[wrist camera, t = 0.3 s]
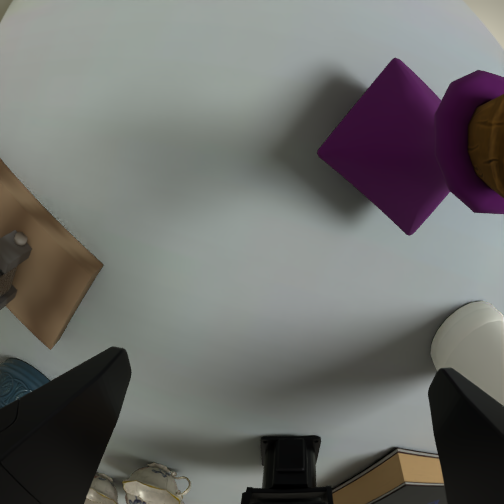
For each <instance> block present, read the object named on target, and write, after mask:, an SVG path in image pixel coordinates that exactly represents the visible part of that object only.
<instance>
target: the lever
mask: <svg viewBox="0 0 504 504" xmlns="http://www.w3.org/2000/svg"><path fill="white" fill-rule="evenodd" d="M16 269H17V266H16V267H15V268H13V269H12V270H11V271H9V272H8V273H6V274H4V273H3V271H2V270H1V269H0V297H2V296H3V295H4V294H5V293H7V292H8V291H9V290H10V288H11V285H12V282H13V278H14V275H15V272H16Z"/></svg>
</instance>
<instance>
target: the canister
mask: <svg viewBox="0 0 504 504" xmlns="http://www.w3.org/2000/svg"><path fill="white" fill-rule="evenodd" d="M48 382H50V381H49V380H48V379H47V378H46V377H45V376H44V375H43V374H41V373H40V372H39V371H37V370H36V369H35V368H33V367H32V366H30V365H29V364H27V363H25V362H23V361H21V360H18V359H13V358H10V359H7V360H6V361H5V362H3V363H1V364H0V408H2V407H4V406H6V405H8V404H10V403H12V402H14V401H15V400H17V399H20V398H21V397H23V396H25V395H26V394H28V393H30V392H32V391H34V390H35V389H37V388H39V387H41V386H43V385H44V384H46V383H48Z"/></svg>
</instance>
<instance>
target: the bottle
mask: <svg viewBox="0 0 504 504" xmlns="http://www.w3.org/2000/svg"><path fill="white" fill-rule="evenodd" d="M430 355H431V357H432V360H433V363H434V365H435V367H436V370H437V371H438V370H439V369H440V368H448V367H451V368H453V369H454V370H456V371H457V372H459V373H460V374H461V375H463V376H464V377H465V378H467V379H468V380H469V381H471V382H472V383H474V384H475V385H476V386H478V387H479V388H480V389H482V390H483V391H484V392H486V393H487V394H488V395H490V396H491V397H492V398H494V399H495V400H496V401H498V402H499V403H500V404H502V405H503V406H504V316H503V314H502V313H501V312H500V311H498V310H496V308H495V307H494V306H493V305H492V304H490V303H487V302H484V301H479V302H472V303H469V304H467V305H465V306H463V307H461V308H459V309H458V310H456V311H455V312H454V313H453V314H452V315H450V316H449V317H448V318H447V319H446V320H445V321H444V323H443V324H442V325H441V327H440V328H439V329H438V330H437V332H436V334H435V337H434V339H433V341H432V343H431V353H430Z"/></svg>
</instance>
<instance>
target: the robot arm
mask: <svg viewBox="0 0 504 504" xmlns="http://www.w3.org/2000/svg"><path fill="white" fill-rule="evenodd" d="M130 378H131V367H130V363H129V358H128V354H127V351H126V350H125V349H124V348H119V347H110V348H108V349H107V350H105V351H103V352H101V353H100V354H98V355H96V356H94V357H92V358H91V359H89V360H87V361H85V362H84V363H82V364H80V365H78V366H77V367H75V368H73V369H71V370H69V371H68V372H66V373H64V374H62V375H60V376H59V377H57V378H55V379H53V380H52V381H50V382H48V383H46V384H44V385H43V386H41V387H39V388H37V389H35V390H34V391H32V392H30V393H28V394H26V395H25V396H23V397H21V398H20V399H17V400H15V401H14V402H12V403H10V404H8V405H6V406H4V407H2V408H0V504H84V502H85V499H86V497H87V494H88V492H89V489H90V487H91V484H92V481H93V479H94V476H95V474H96V471H97V469H98V466H99V464H100V461H101V459H102V456H103V454H104V452H105V449H106V447H107V444H108V442H109V440H110V437H111V435H112V432H113V430H114V428H115V425H116V423H117V420H118V418H119V414H120V411H121V408H122V404H123V401H124V398H125V394H126V391H127V388H128V385H129V382H130ZM428 397H429V403H430V410H431V417H432V424H433V431H434V437H435V442H436V447H437V451H438V456H439V461H440V465H441V470H442V476H443V481H444V487H445V492H446V499H447V504H504V406H503V405H502V404H500V403H499V402H498V401H496V400H495V399H494V398H492V397H491V396H490V395H488V394H487V393H486V392H484V391H483V390H482V389H480V388H479V387H478V386H476V385H475V384H474V383H472V382H471V381H469V380H468V379H467V378H465V377H464V376H463V375H461V374H460V373H459V372H457V371H456V370H454V369H453V368H451V367H448V368H440V369H439V370H438V371H437V373H436V375H435V377H434V379H433V381H432V383H431V385H430V387H429V390H428ZM320 444H321V438H320V437H318V436H314V437H262V438H261V456H262V465H263V466H264V472H263V483H262V488H252V487H247V490H246V492H244V493H242V500H241V504H334V503H333V495H332V488H331V485H330V486H326V487H316V462H317V457H318V453H319V448H320Z"/></svg>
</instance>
